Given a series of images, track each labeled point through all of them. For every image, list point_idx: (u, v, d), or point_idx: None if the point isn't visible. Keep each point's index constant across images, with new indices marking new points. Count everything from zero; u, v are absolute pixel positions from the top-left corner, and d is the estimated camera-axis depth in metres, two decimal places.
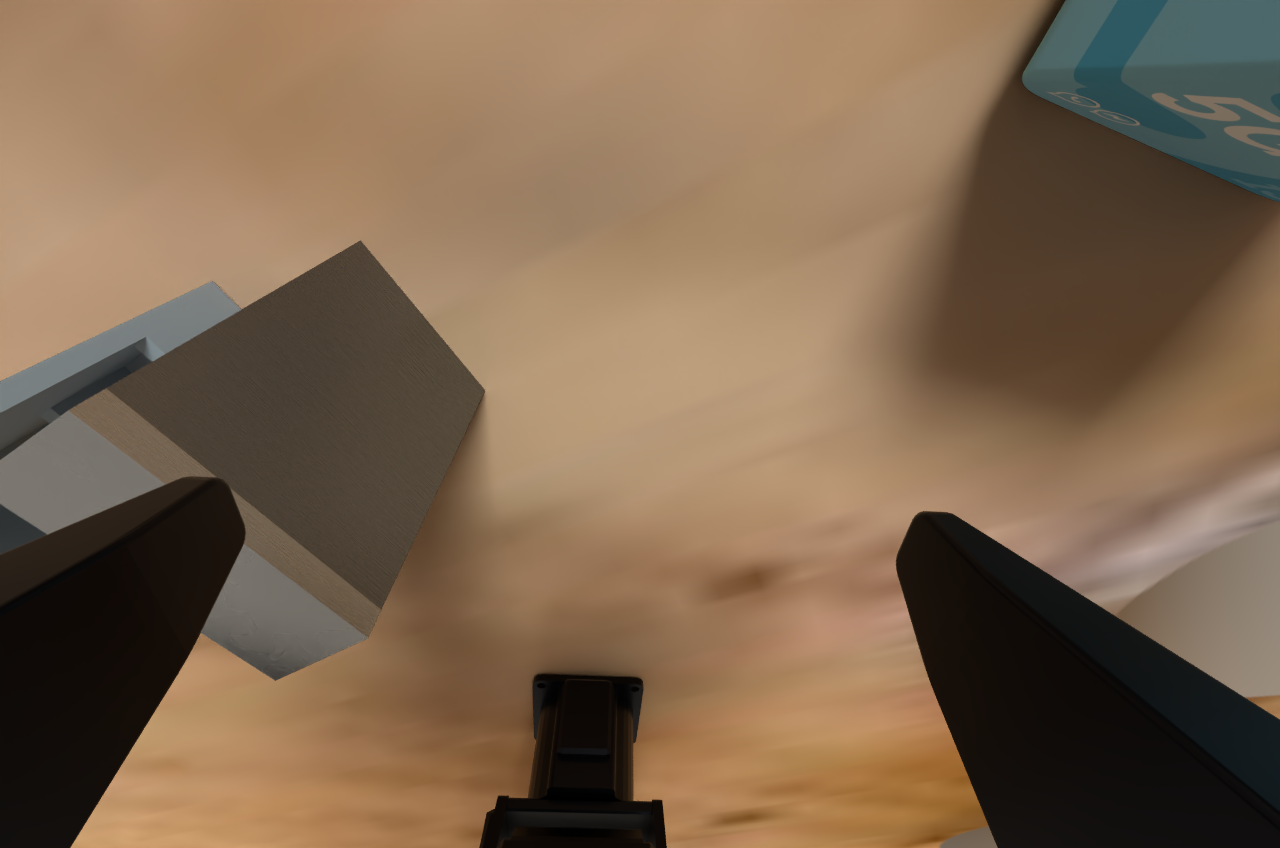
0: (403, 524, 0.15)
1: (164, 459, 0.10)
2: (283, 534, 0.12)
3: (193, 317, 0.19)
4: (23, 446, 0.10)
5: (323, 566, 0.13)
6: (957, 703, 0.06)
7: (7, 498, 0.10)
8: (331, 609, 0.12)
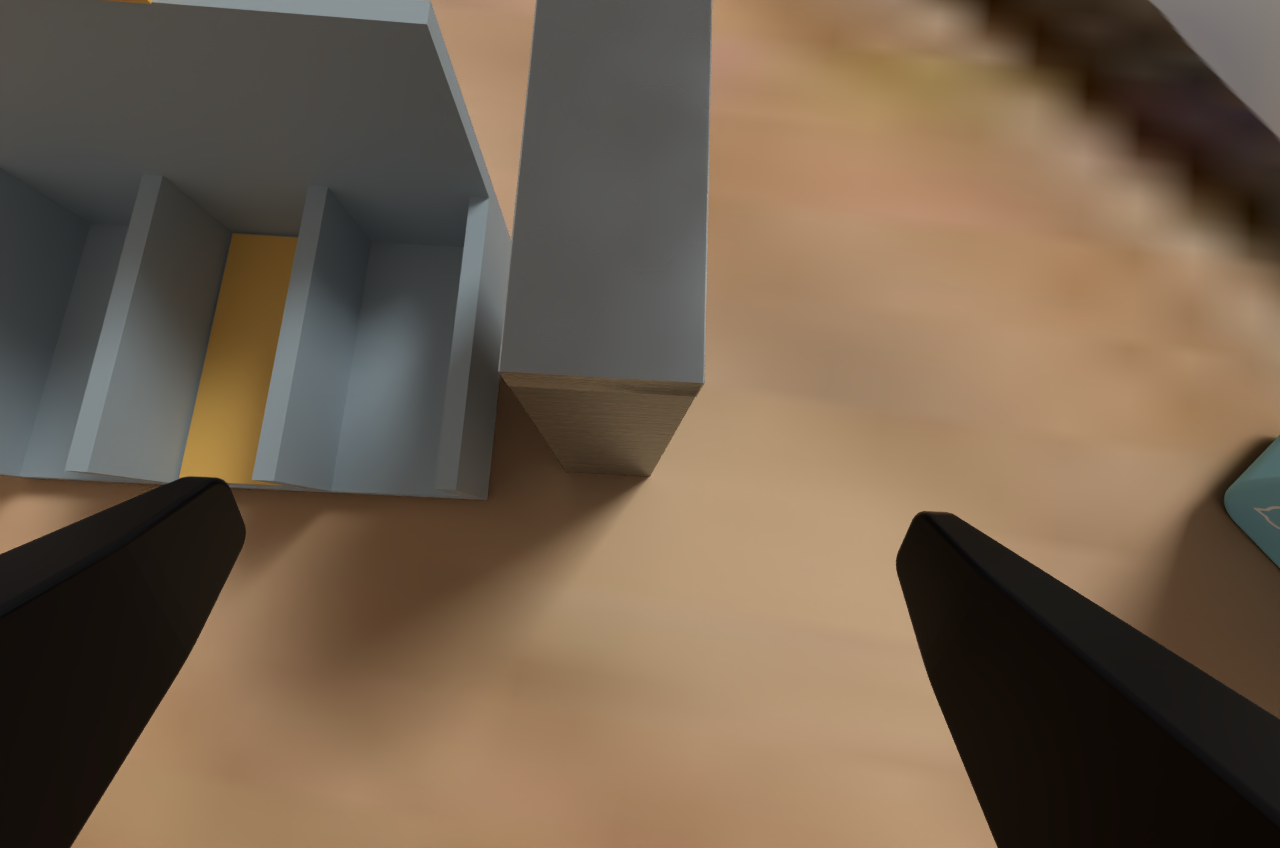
0: None
1: None
2: None
3: (501, 236, 0.19)
4: None
5: None
6: (957, 703, 0.06)
7: (547, 12, 0.09)
8: None
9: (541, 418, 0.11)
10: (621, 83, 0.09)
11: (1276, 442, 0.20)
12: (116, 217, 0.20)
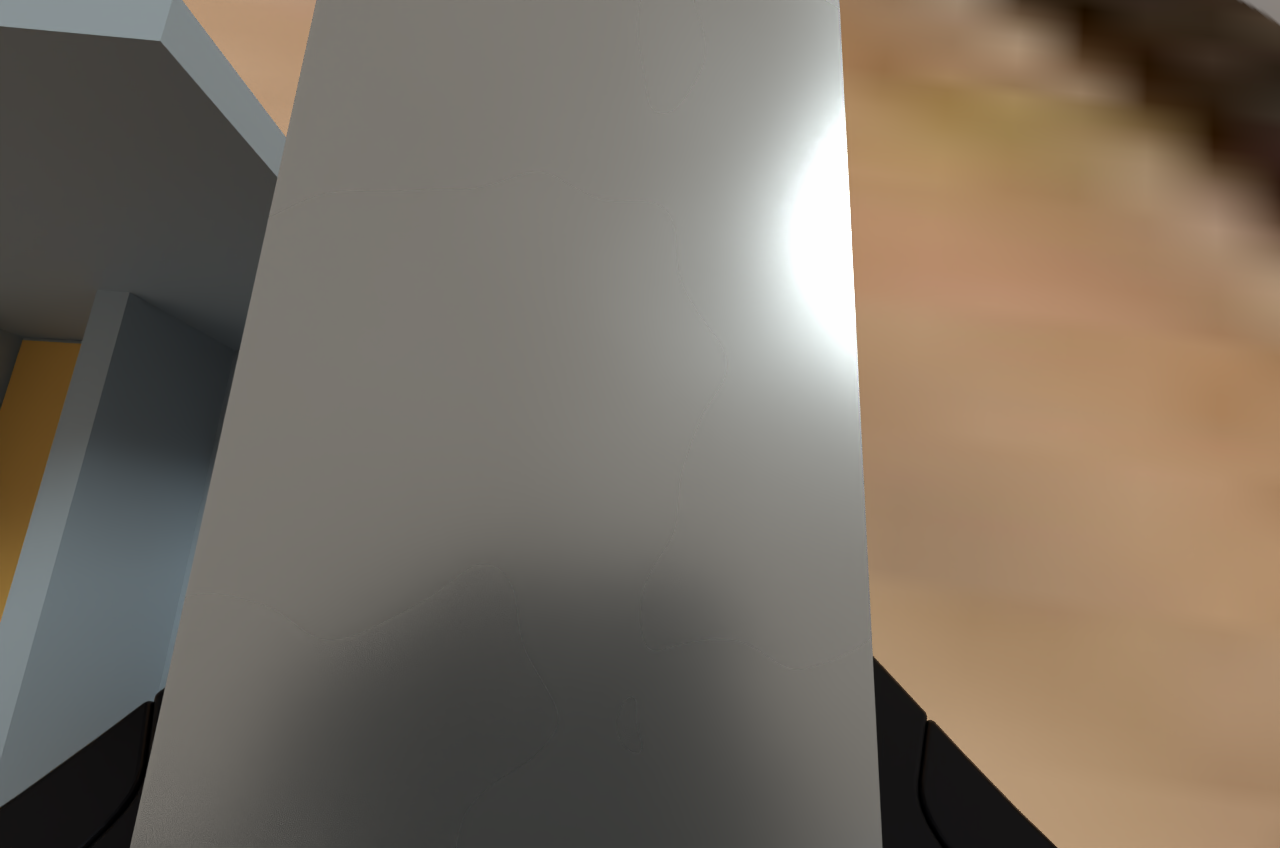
0: None
1: None
2: None
3: None
4: None
5: None
6: None
7: (355, 9, 0.03)
8: None
9: None
10: (575, 233, 0.03)
11: None
12: None
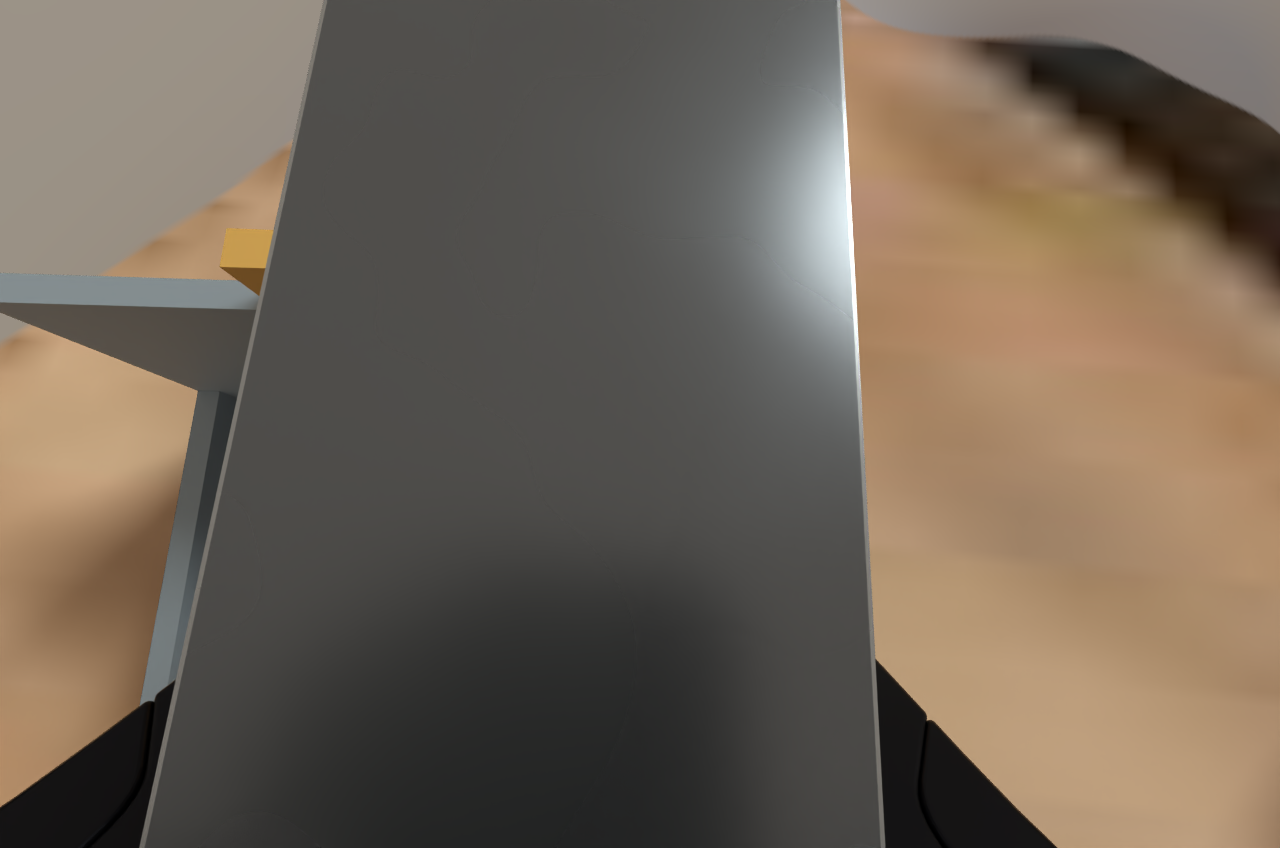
0: None
1: None
2: None
3: None
4: None
5: None
6: None
7: (361, 10, 0.03)
8: None
9: None
10: (579, 231, 0.03)
11: None
12: None
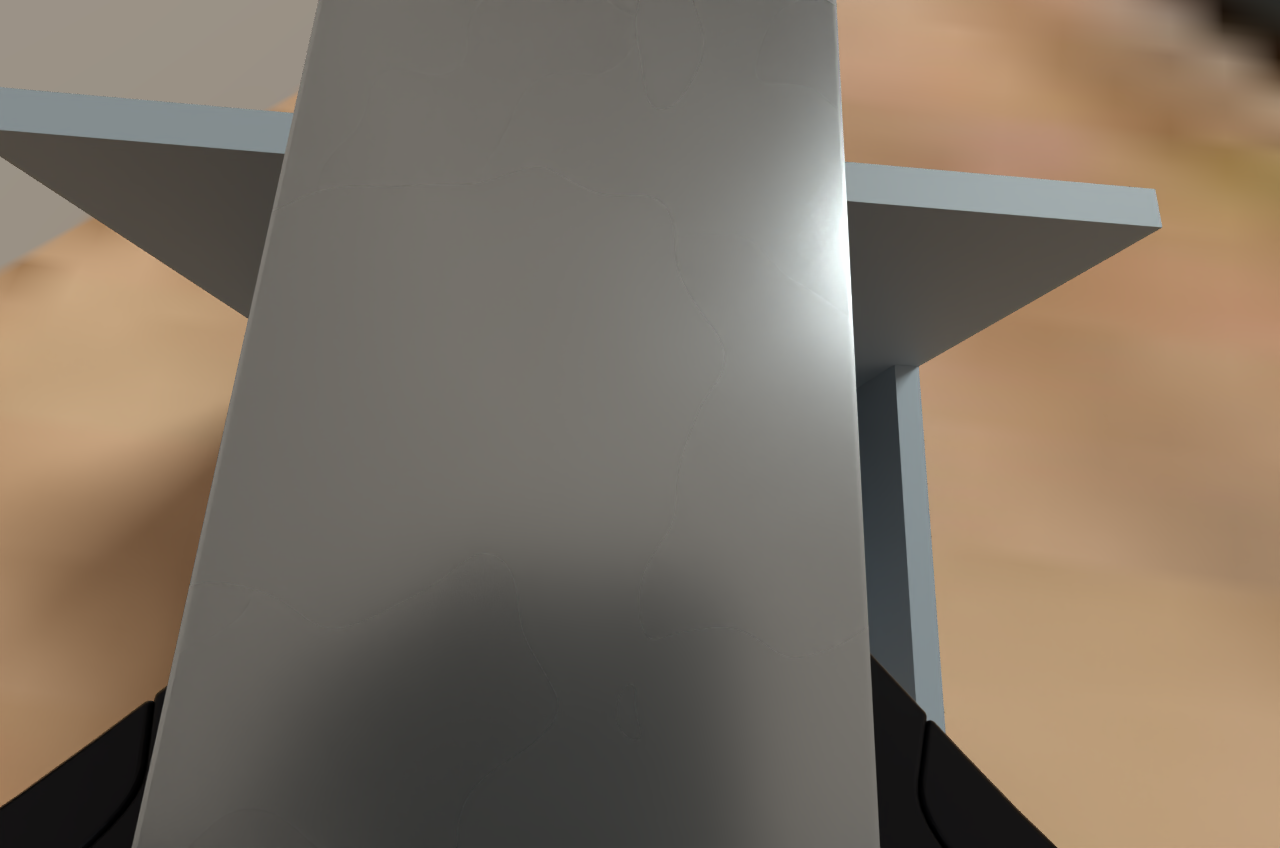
0: None
1: None
2: None
3: None
4: None
5: None
6: None
7: (357, 7, 0.03)
8: None
9: None
10: (576, 228, 0.03)
11: None
12: None
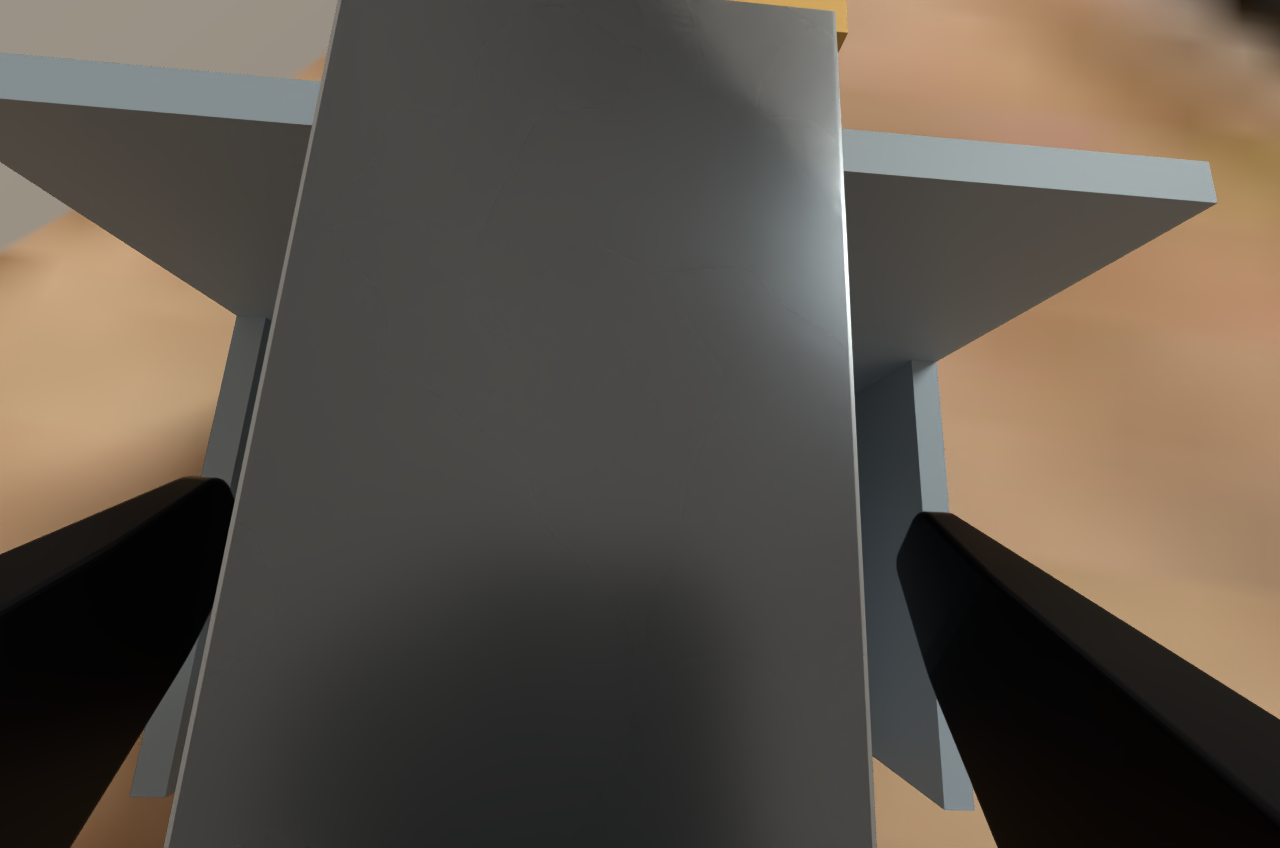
0: None
1: None
2: None
3: None
4: None
5: None
6: (957, 703, 0.06)
7: (367, 43, 0.03)
8: None
9: None
10: (581, 262, 0.03)
11: None
12: None
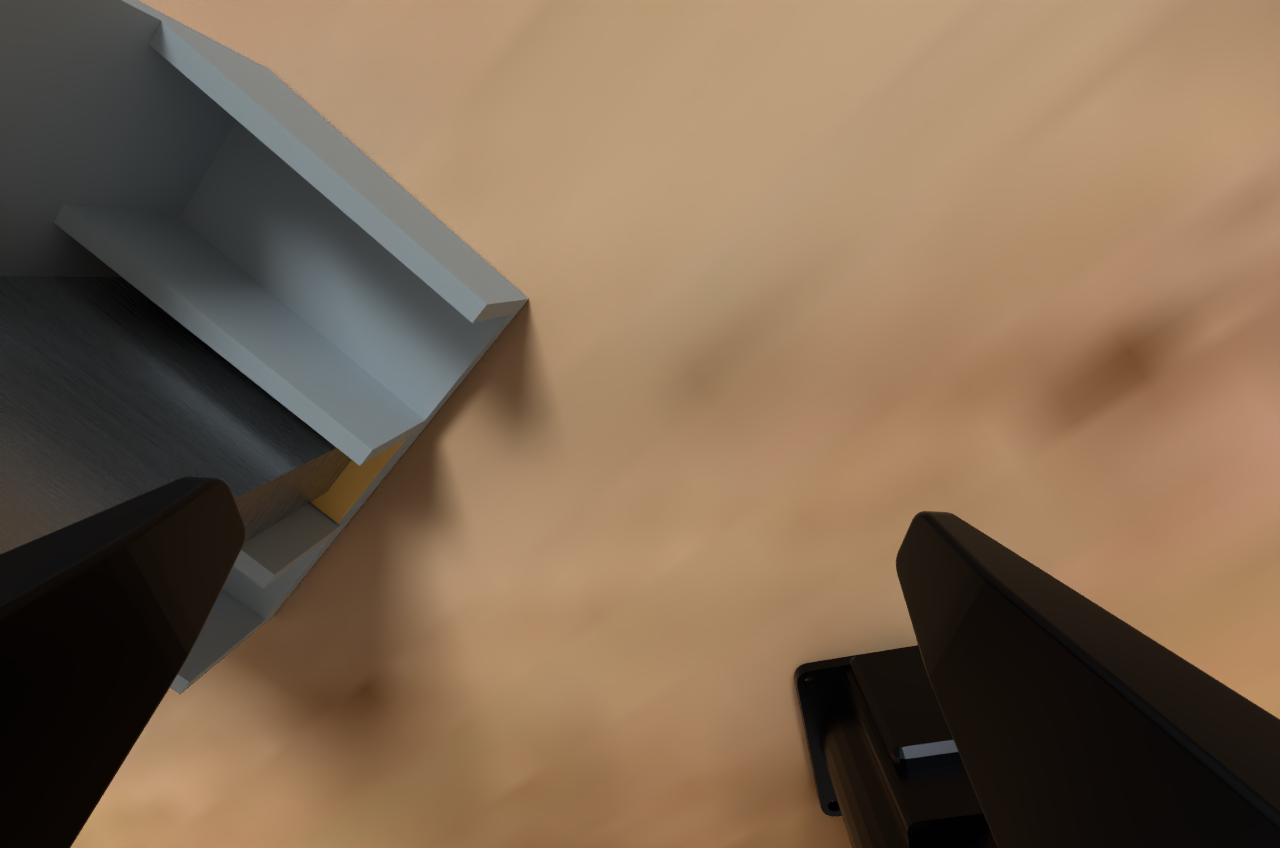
0: None
1: None
2: None
3: (235, 59, 0.14)
4: None
5: None
6: (957, 703, 0.06)
7: None
8: None
9: None
10: None
11: None
12: None
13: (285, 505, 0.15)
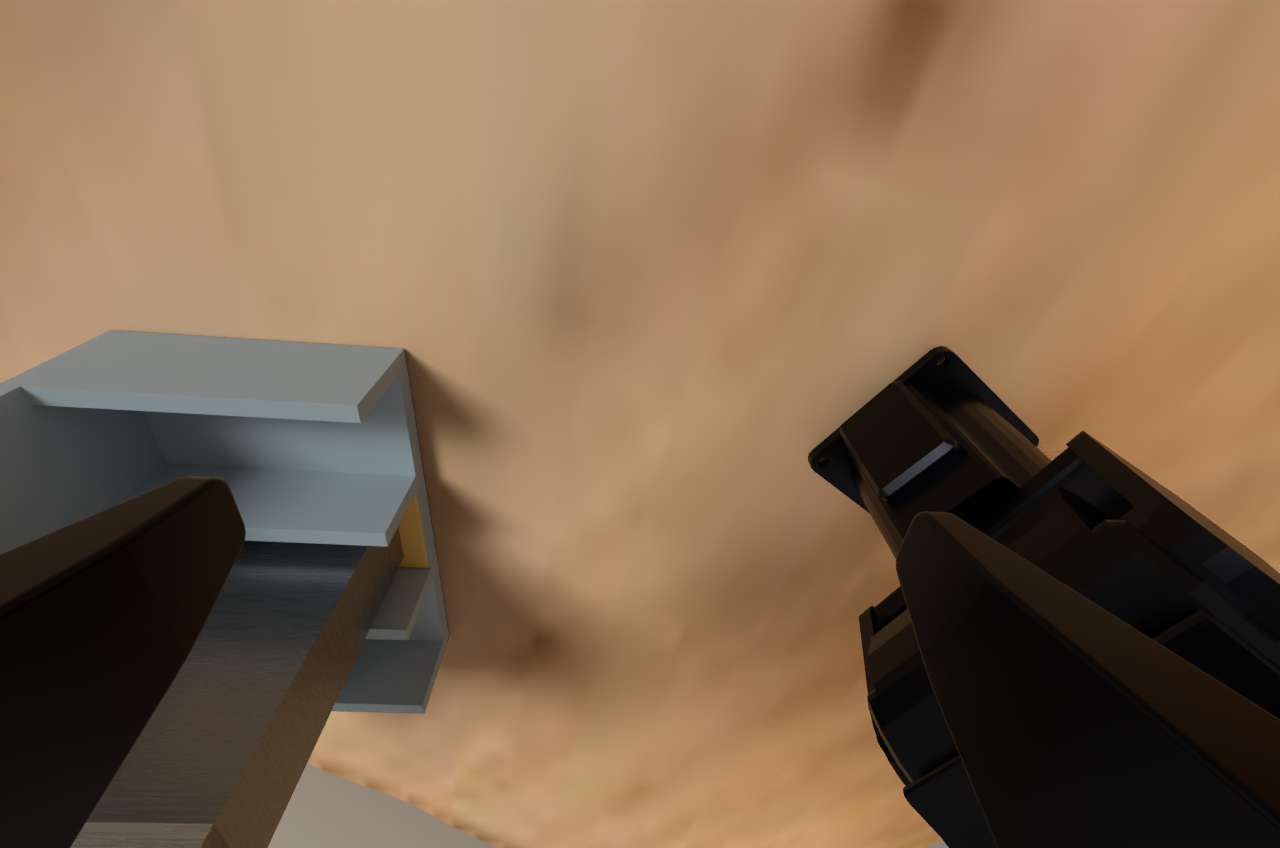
0: (255, 712, 0.15)
1: None
2: None
3: (84, 356, 0.17)
4: None
5: (132, 824, 0.12)
6: (957, 703, 0.06)
7: None
8: None
9: (296, 778, 0.16)
10: None
11: None
12: None
13: (375, 590, 0.21)
